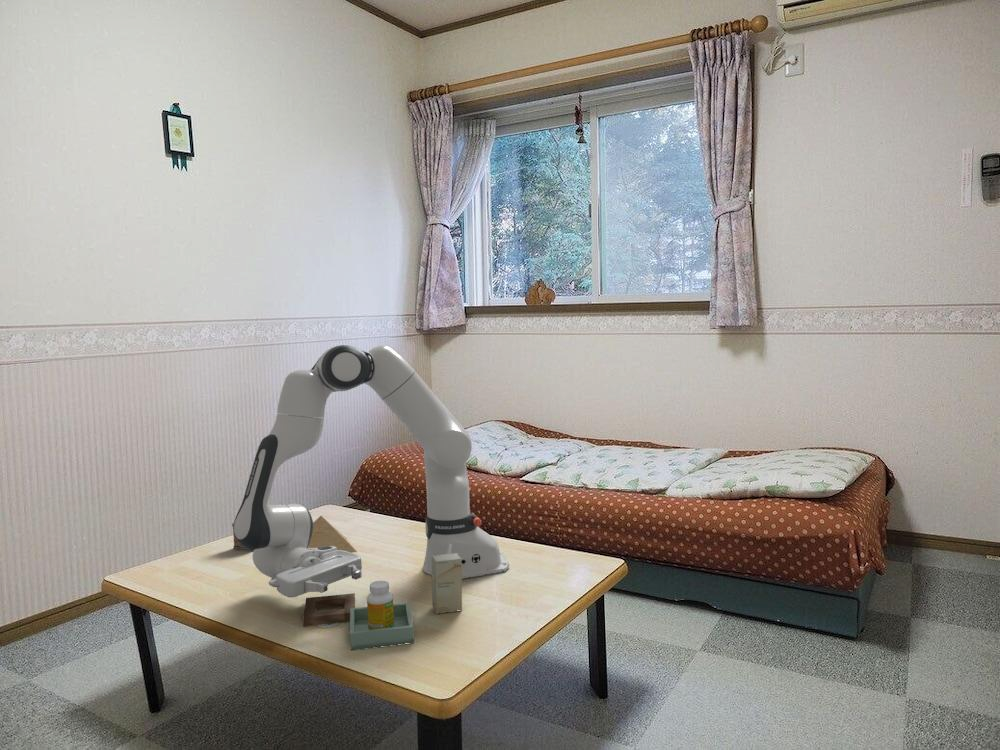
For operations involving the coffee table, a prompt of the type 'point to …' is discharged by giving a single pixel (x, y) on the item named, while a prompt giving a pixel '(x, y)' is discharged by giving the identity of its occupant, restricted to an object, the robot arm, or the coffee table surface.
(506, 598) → the coffee table surface
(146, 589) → the coffee table surface
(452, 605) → the skincare box
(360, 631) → the tray
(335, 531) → the model pyramid
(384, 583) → the supplement bottle
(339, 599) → the socket block
